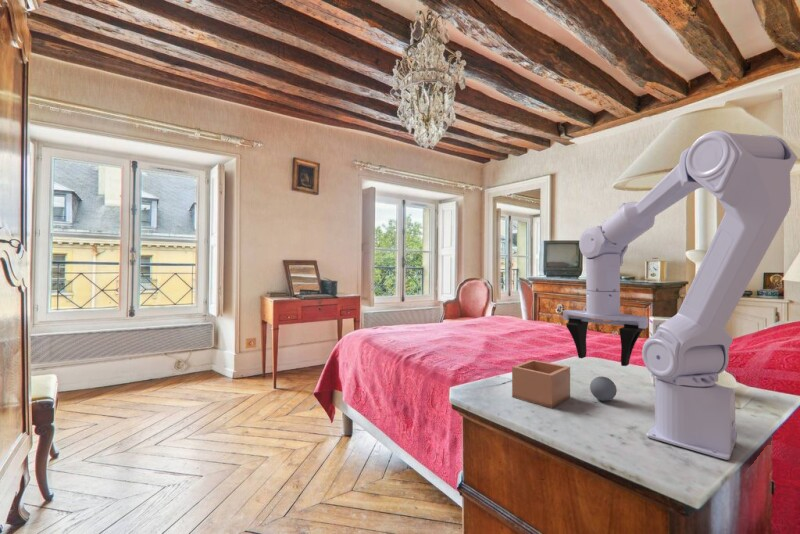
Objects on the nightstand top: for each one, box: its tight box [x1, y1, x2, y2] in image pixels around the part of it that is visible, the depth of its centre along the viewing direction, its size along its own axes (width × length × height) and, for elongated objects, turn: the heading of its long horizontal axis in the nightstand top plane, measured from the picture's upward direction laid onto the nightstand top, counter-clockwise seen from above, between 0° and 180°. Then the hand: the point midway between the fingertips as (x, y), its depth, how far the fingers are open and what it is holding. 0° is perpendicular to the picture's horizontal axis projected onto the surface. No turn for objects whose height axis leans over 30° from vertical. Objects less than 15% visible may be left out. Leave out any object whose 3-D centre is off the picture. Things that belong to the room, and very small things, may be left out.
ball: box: [589, 376, 618, 402], centre depth 72 cm, size 4×4×4 cm
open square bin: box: [511, 359, 571, 409], centre depth 74 cm, size 8×8×6 cm
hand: (602, 361), depth 72 cm, fingers open, 7 cm apart
